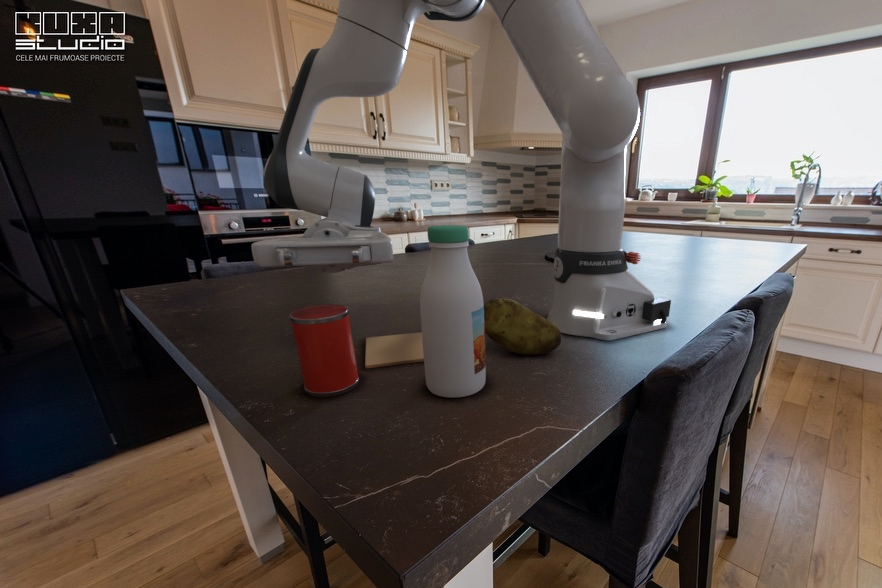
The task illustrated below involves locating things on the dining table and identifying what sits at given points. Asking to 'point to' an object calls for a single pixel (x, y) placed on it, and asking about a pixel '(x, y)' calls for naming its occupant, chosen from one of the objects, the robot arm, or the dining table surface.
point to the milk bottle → (452, 316)
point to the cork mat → (394, 350)
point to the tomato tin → (325, 349)
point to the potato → (519, 328)
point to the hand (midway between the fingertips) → (322, 258)
